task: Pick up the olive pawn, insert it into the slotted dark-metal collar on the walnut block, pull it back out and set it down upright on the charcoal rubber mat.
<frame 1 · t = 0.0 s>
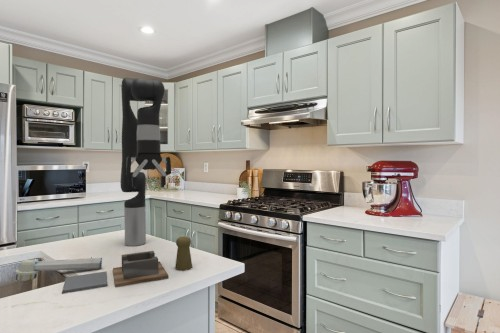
hand: (149, 187, 105), 29 cm above the worktop, fingers open, 8 cm apart
toothbrush head: (61, 275, 107), on the worktop
collar block: (139, 274, 106), on the worktop
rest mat: (86, 282, 99), on the worktop
olive pawn: (183, 268, 112), on the worktop
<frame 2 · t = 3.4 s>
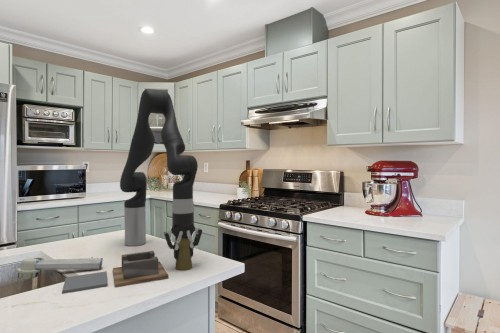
hand: (183, 258, 112), 3 cm above the worktop, fingers closed on olive pawn, 4 cm apart
olive pawn: (183, 268, 112), on the worktop, touching gripper
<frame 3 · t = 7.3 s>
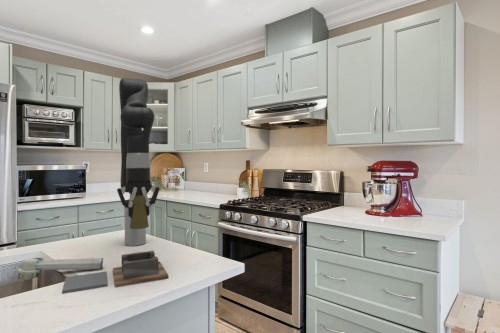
hand: (138, 217, 105), 19 cm above the worktop, fingers closed on olive pawn, 4 cm apart
olive pawn: (139, 227, 106), point 16 cm above the worktop, touching gripper
everything else where it was.
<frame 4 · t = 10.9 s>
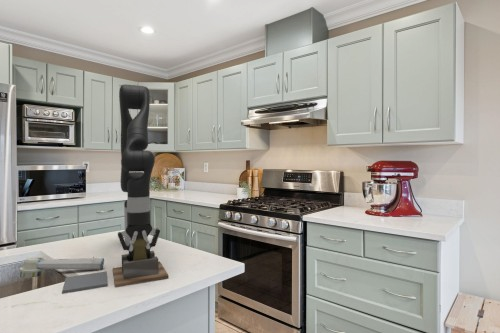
hand: (139, 260, 106), 5 cm above the worktop, fingers closed on olive pawn, 4 cm apart
olive pawn: (139, 270, 106), point 1 cm above the worktop, touching gripper
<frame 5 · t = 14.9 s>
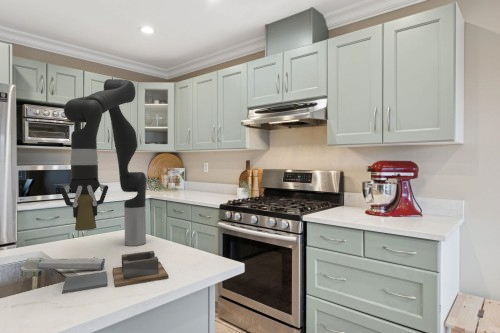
hand: (85, 218, 98), 20 cm above the worktop, fingers closed on olive pawn, 4 cm apart
olive pawn: (85, 229, 98), point 17 cm above the worktop, touching gripper
when the fingers open (5 cm above the worktop, at t = 18.4 s): olive pawn moves 1 cm, resting on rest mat.
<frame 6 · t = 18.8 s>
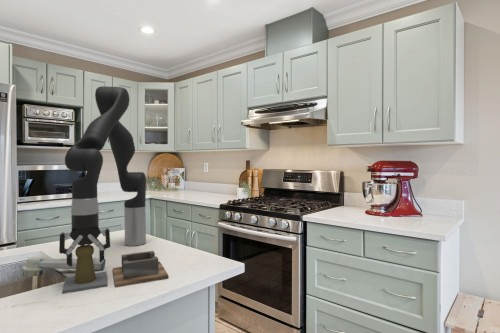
hand: (85, 263, 99), 6 cm above the worktop, fingers open, 8 cm apart
olive pawn: (85, 280, 99), point 1 cm above the worktop, touching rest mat
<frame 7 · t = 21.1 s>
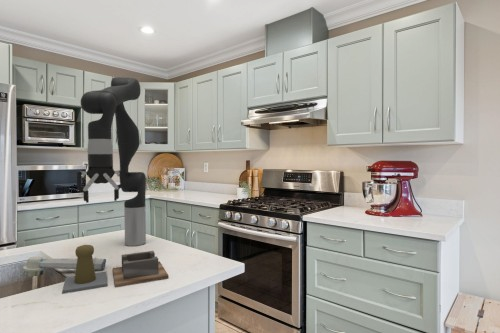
hand: (101, 201, 105), 25 cm above the worktop, fingers open, 8 cm apart
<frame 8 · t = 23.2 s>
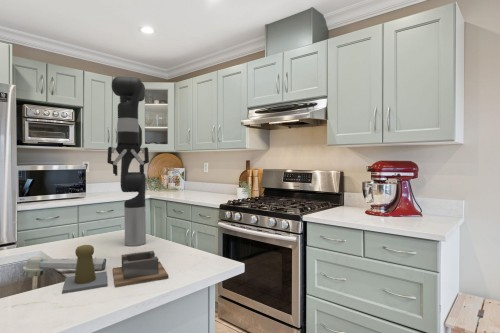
hand: (128, 175, 116), 33 cm above the worktop, fingers open, 8 cm apart
at the end: olive pawn inside the target area on the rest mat (0.3 cm from its centre), point 0.6 cm above the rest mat's base; olive pawn tilted 0°; the gripper is holding nothing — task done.
